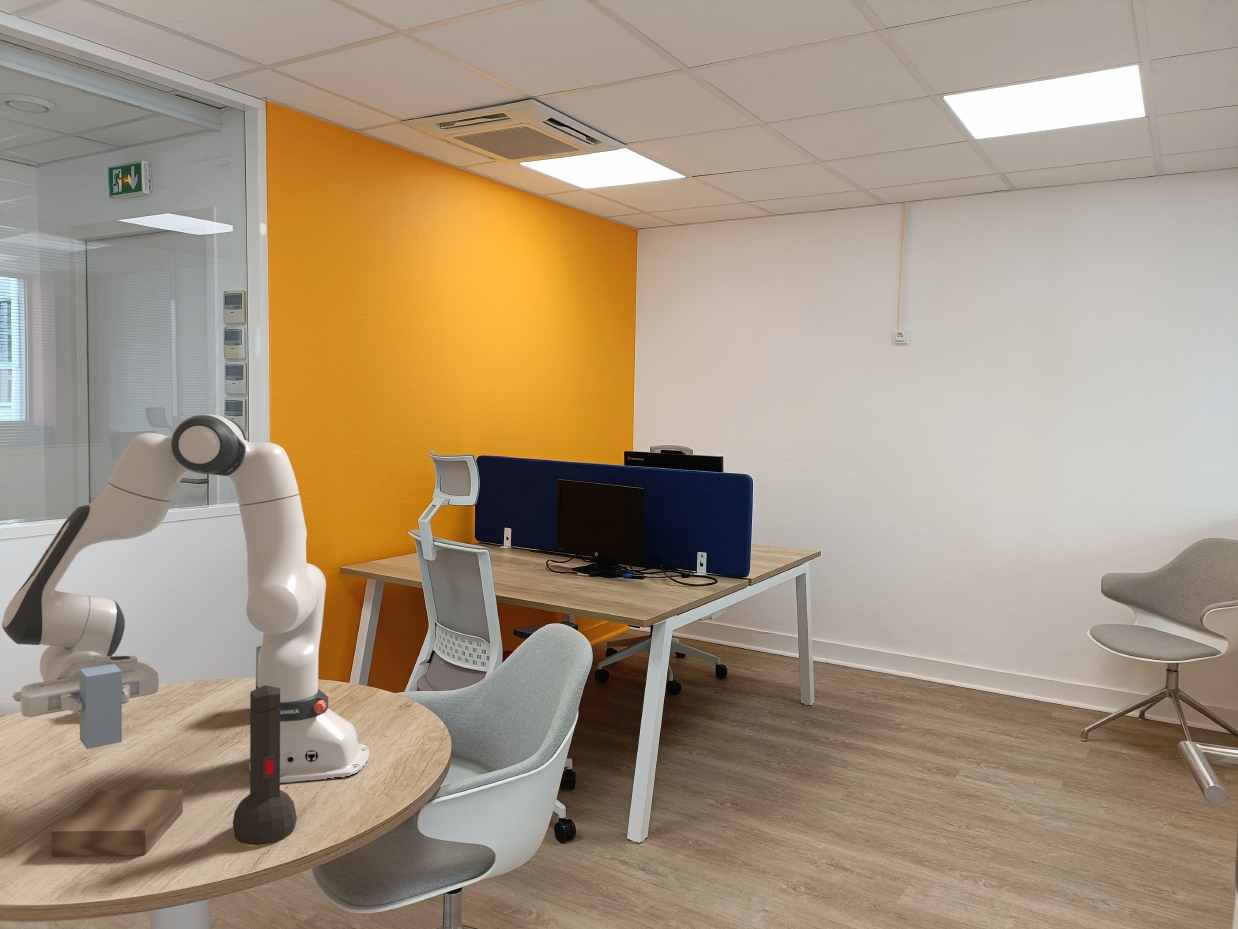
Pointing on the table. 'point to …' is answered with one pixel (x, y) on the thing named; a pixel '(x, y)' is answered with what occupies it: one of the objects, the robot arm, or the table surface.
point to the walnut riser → (117, 823)
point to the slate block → (101, 705)
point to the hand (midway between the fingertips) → (102, 703)
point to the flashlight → (264, 777)
